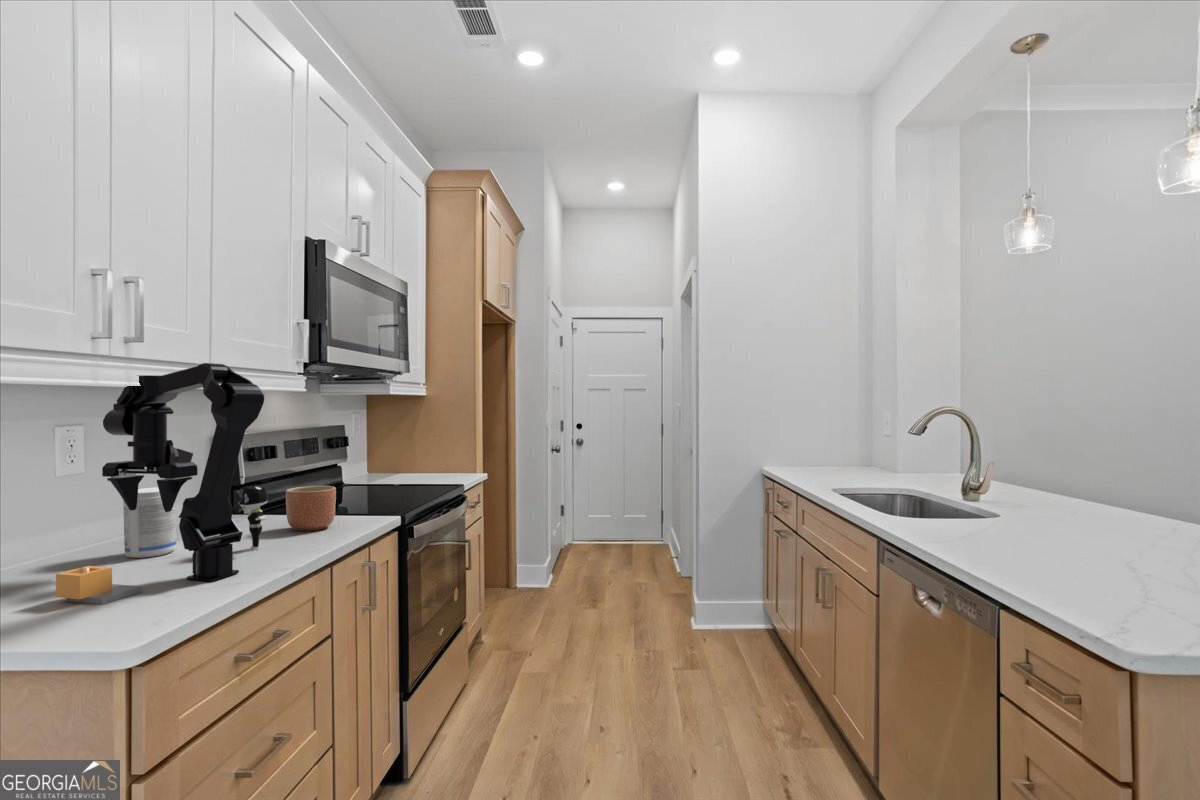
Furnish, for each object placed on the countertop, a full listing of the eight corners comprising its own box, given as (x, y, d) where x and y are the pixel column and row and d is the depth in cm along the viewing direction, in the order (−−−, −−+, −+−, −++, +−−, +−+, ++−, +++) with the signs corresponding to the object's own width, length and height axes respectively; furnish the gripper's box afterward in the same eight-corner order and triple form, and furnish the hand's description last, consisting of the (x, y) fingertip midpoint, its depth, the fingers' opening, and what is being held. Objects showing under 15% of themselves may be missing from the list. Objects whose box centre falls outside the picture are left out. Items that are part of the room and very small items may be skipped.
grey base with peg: (141, 591, 112) (141, 561, 112) (102, 604, 105) (102, 572, 105) (107, 588, 114) (107, 559, 114) (66, 600, 107) (66, 569, 107)
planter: (332, 522, 176) (332, 484, 176) (339, 530, 165) (339, 489, 165) (283, 527, 169) (283, 487, 169) (288, 535, 159) (288, 493, 159)
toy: (233, 546, 147) (232, 483, 147) (261, 542, 151) (261, 481, 151) (246, 556, 137) (246, 489, 137) (276, 551, 141) (276, 486, 141)
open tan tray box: (112, 589, 110) (111, 567, 110) (79, 599, 104) (79, 575, 104) (88, 587, 111) (88, 565, 111) (55, 597, 106) (55, 573, 106)
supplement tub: (185, 548, 145) (184, 486, 145) (158, 558, 136) (158, 492, 136) (142, 549, 144) (142, 487, 145) (112, 559, 135) (112, 492, 135)
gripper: (219, 434, 133) (219, 506, 133) (151, 433, 138) (151, 503, 138) (172, 437, 122) (172, 515, 122) (100, 436, 127) (100, 511, 127)
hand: (150, 510), depth 127 cm, fingers open, 9 cm apart
